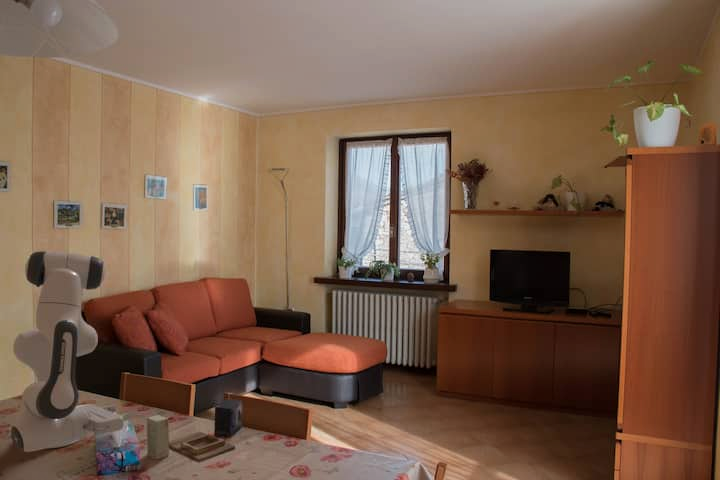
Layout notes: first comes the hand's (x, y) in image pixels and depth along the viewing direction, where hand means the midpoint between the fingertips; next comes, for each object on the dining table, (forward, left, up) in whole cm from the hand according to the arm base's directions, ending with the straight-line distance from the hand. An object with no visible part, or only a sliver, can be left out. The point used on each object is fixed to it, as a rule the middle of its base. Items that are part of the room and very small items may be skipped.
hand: (122, 411), depth 176 cm
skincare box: (0, +12, -17) cm, 21 cm away
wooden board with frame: (+4, +25, -17) cm, 31 cm away
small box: (0, +40, -17) cm, 44 cm away
